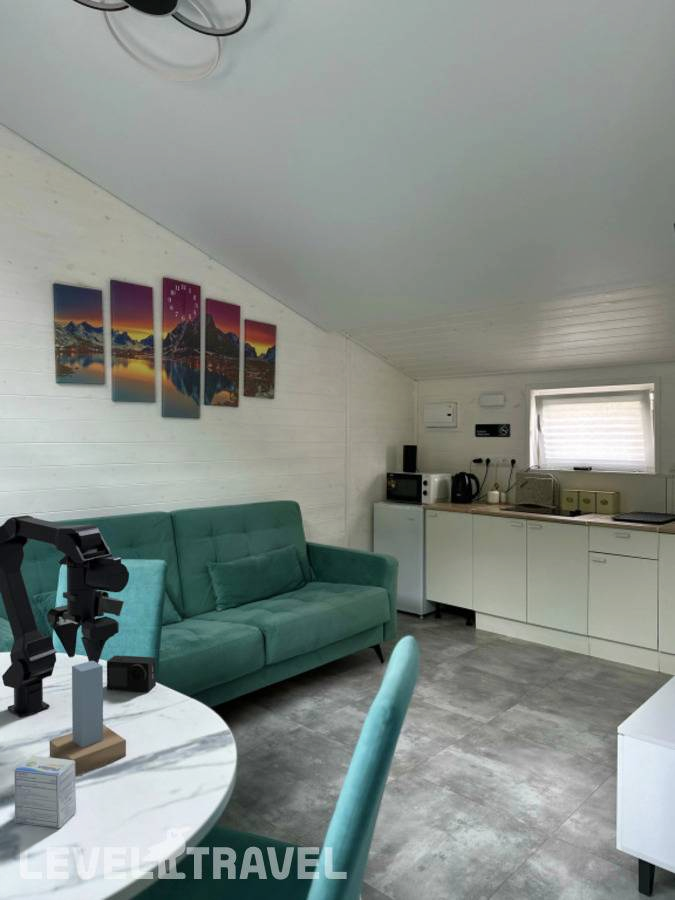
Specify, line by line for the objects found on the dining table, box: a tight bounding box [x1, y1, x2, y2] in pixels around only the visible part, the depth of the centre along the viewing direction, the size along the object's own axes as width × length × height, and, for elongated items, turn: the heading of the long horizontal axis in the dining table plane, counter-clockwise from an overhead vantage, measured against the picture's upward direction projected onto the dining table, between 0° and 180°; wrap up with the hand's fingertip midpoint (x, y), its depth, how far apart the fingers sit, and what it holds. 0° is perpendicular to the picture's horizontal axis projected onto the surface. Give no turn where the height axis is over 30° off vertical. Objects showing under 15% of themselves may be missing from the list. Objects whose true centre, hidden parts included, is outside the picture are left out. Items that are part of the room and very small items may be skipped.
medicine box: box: [13, 755, 77, 829], centre depth 99 cm, size 8×4×9 cm, turn 79°
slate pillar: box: [71, 660, 104, 748], centre depth 118 cm, size 4×4×14 cm
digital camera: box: [106, 655, 157, 693], centre depth 150 cm, size 10×5×7 cm, turn 83°
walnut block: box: [49, 724, 127, 777], centre depth 119 cm, size 10×10×3 cm
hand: (82, 662), depth 131 cm, fingers open, 9 cm apart
